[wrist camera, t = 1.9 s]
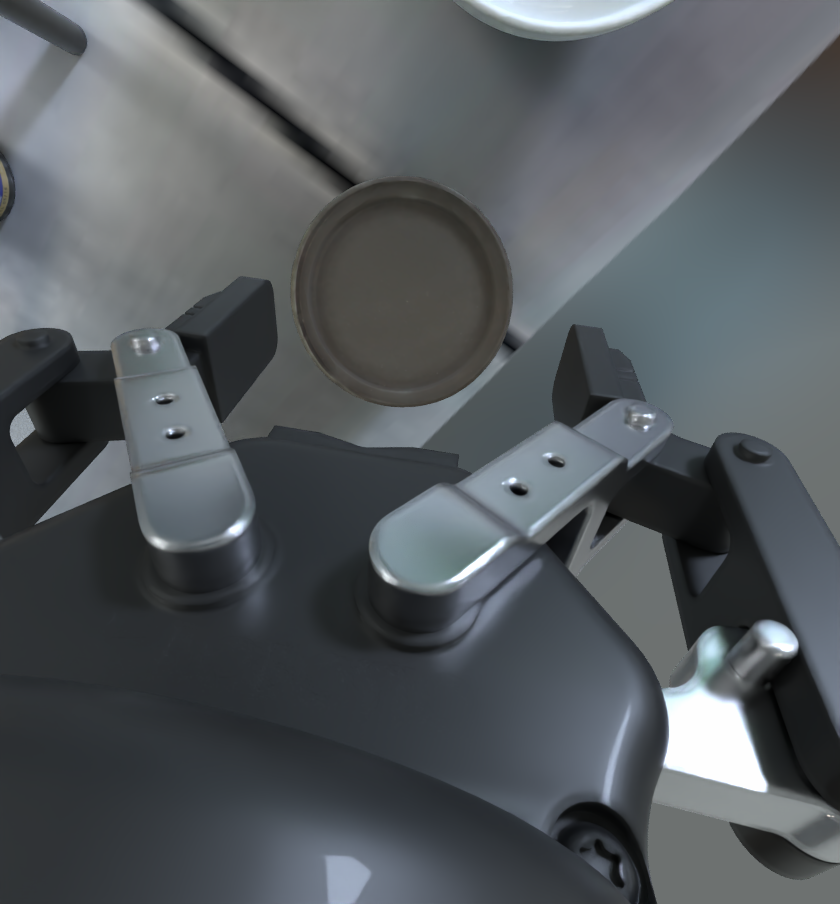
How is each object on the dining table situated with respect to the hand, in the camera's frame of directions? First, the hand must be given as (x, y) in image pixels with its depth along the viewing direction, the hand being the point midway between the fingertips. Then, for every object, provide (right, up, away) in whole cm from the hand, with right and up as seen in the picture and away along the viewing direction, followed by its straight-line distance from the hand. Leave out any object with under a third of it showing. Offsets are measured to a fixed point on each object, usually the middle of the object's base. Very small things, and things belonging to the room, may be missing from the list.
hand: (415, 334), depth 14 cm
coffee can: (-1, +9, +23) cm, 25 cm away
